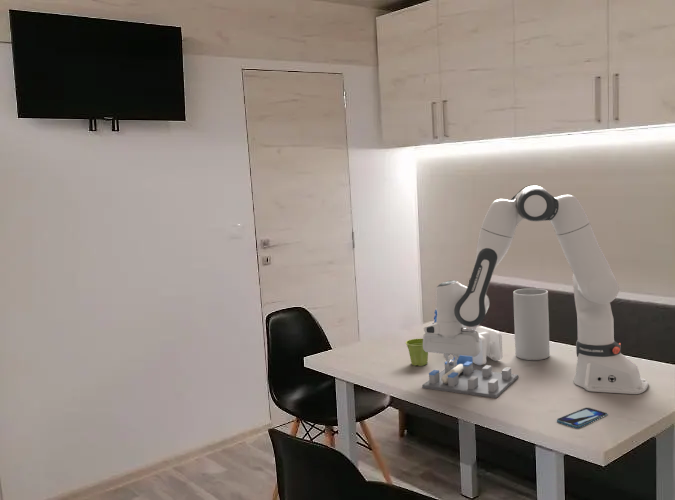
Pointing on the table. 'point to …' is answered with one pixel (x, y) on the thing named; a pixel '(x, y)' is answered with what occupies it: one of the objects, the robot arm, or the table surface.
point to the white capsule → (456, 369)
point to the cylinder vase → (531, 324)
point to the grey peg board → (471, 379)
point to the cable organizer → (488, 345)
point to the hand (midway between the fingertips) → (452, 366)
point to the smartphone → (581, 417)
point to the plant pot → (417, 352)
